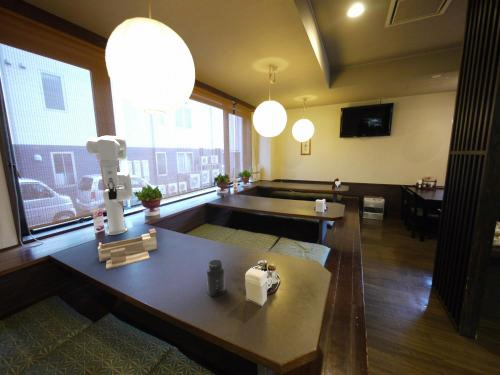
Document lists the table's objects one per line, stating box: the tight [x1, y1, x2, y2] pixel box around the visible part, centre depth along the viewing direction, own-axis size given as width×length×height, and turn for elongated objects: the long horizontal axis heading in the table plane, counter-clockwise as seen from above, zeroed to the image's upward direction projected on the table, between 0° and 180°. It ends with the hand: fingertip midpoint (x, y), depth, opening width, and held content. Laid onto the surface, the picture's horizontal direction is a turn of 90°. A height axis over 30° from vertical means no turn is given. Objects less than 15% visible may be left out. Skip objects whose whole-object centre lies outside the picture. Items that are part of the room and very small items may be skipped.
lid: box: [105, 248, 150, 271], centre depth 105 cm, size 9×19×7 cm, turn 123°
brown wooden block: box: [148, 228, 157, 237], centre depth 120 cm, size 7×3×2 cm, turn 32°
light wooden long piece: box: [97, 233, 158, 263], centre depth 114 cm, size 9×27×7 cm, turn 122°
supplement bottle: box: [206, 259, 226, 297], centre depth 79 cm, size 7×7×12 cm
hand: (113, 197), depth 104 cm, fingers open, 9 cm apart
